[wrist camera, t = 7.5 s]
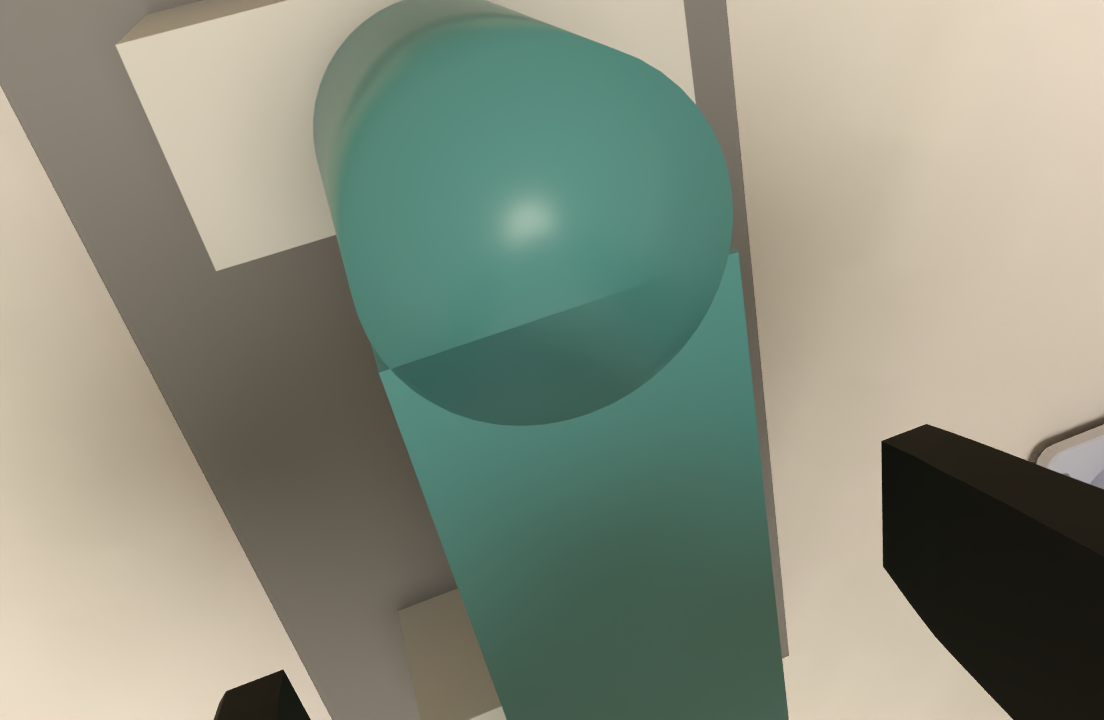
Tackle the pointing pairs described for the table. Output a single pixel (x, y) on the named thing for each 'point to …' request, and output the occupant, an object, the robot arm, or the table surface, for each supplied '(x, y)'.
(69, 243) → the table surface
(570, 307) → the teal dome-capped pillar
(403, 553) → the display stand
